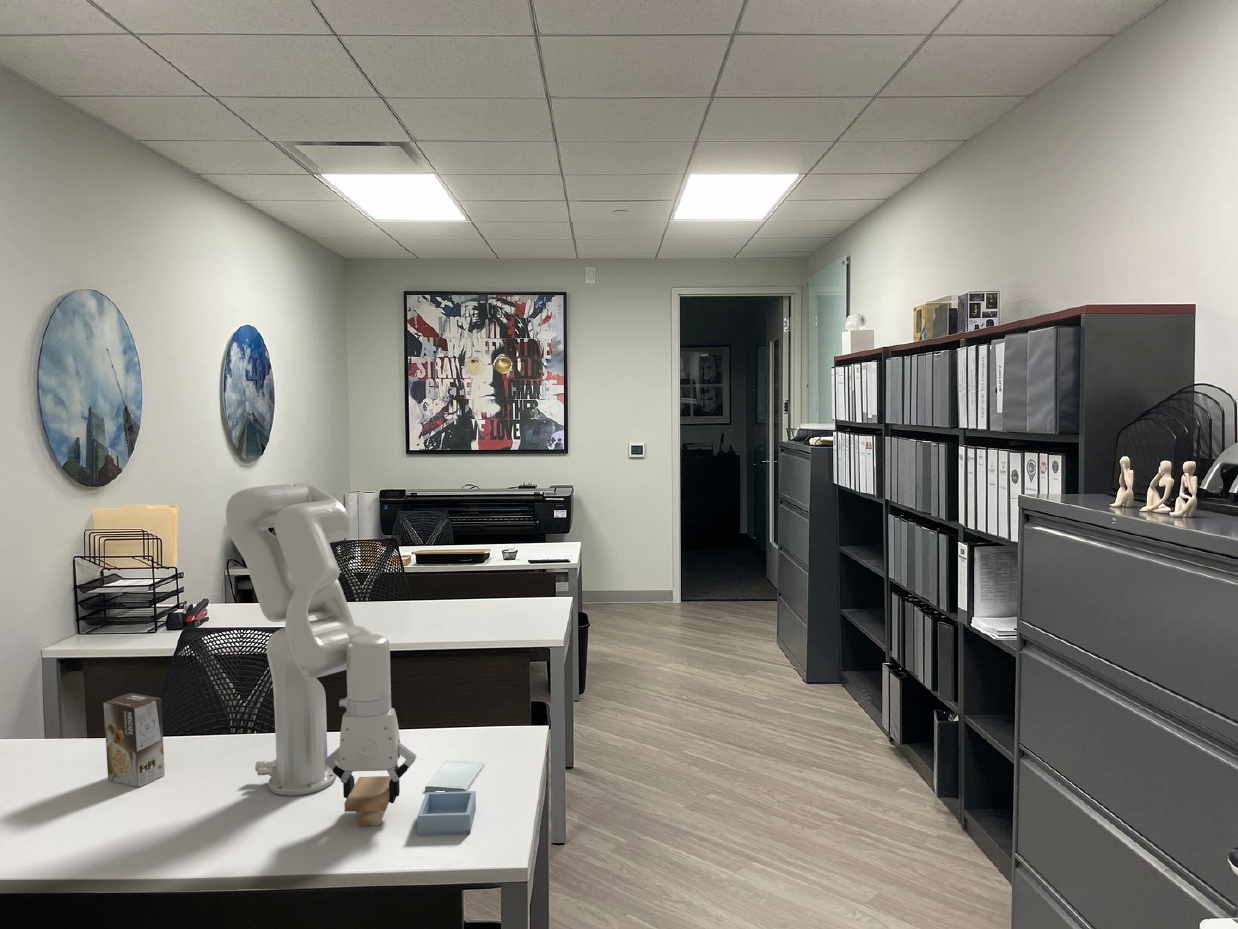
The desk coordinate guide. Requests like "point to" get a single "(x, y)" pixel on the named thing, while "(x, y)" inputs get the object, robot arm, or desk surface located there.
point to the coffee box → (134, 739)
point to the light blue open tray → (447, 813)
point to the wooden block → (369, 818)
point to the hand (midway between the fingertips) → (372, 799)
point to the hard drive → (455, 776)
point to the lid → (369, 794)
